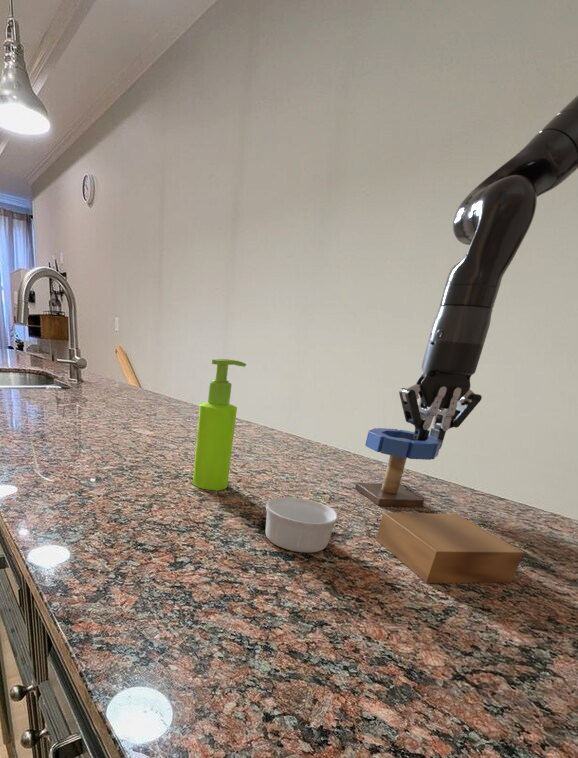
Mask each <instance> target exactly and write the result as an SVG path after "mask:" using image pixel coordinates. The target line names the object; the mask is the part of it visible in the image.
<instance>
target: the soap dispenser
mask: <svg viewBox="0 0 578 758" xmlns="http://www.w3.org/2000/svg"><path fill="white" fill-rule="evenodd" d="M211 364H212V365H215V366H216V372H215V379H213V380H210V381H209V386H208V398H207V401H205V402H200V403H199V407H198V418H197V431H196V442H195V452H194V453H195V454H194V464H193V475H192V485H194V486H195V487H196V488H199V489H203V490H207V491H208V490H209V491H221V490H225V489H227V488H228V484H229V478H230V477H229V476H230V469H231V461H232V452H233V445H234V444H233V443H234V436H235V428H236V420H237V411H238V407H237V406H235V405H234V404H231V403H230V402H231V394H232V386H233V385H232V383H231V382H230V380H228V370H229V366H233V365H234V366H238V367H243V368H245V367H246V366H247V363H245V362H242V361H239V360H235V359H229V358H218V359H217V358H216V359H212V360H211Z"/></svg>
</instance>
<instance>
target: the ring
mask: <svg viewBox="0 0 578 758" xmlns="http://www.w3.org/2000/svg"><path fill="white" fill-rule="evenodd" d="M413 435H414V431H411V430H406V429H397V428H387V427H386V428H383V427H377V428H376V427H374V428H372V429H369V430H368V433H367V436H366V440H365V447H366V448H368V449H370V450H373V451H375V452H376V453H380V454H382V455H386V456H387V455H388V456H390V455H392V456H397V457H401V458H406V457H407V459H409V460H423V461H425V460H427V461H431V460H435V459H436V458H437V457H438V456H439V452H440V450H441V448H440V446H441V443H442V441H441V440H440V439H437V438H434V437H432V436H429V435H430V434H429V435H428V438H427V440H426V441H415V440H412V438H413ZM401 438H405V439H401ZM406 439H409V440H406ZM442 444H443V443H442ZM441 447H442V446H441Z"/></svg>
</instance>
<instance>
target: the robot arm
mask: <svg viewBox="0 0 578 758" xmlns="http://www.w3.org/2000/svg"><path fill="white" fill-rule="evenodd" d="M576 170H578V94H577V95H576V96H575V97H574V98H573V99H572V100H571V101H569V102H568V103H567V104H566V105H565V106H564V107H563V108H562V109H561V110H560V111H559V112H558V113H557V114H556V115H555V116H554V117H553V118H552V119H551V120H550V121H548V123H547V124H545V126H544V127H543V128H541V129H540V130H539V132H537V134H535V136H534V137H532V138H531V140H530V141H529V142H528V143H527V144H526V145H525V146H523V148H522V149H521V150H520V151H519V152H517V153H516V154H515V155H514V156H513V157H511V158H510V159H509V160H507V161H506V162H505V163H504V164H502V165H500V167H498V168H497V169H496V170H495V171H494V172H493V173H491V174H490V175H489V176H488V177H486V178H485V179H484V180H483V181H481V182H480V183H479V184H478V185H477V186H475V188H473V190H471V191H470V192H469V193H468V195H467V196H466V197H465V198H464V199H463V200H462V201H461V203H460V205H458V208H457V210H456V212H455V214H454V217H453V222H452V232H453V234H454V237H455V239H456V240H457V241H458V242H459V243H461V244H463V245H465V246H469V247H468V249H467V252H466V254H465V256H464V257H463V258H462V259H461V260H460V261H459V262H457V263H456V264H454V265H453V266H452V267H451V269H450V271H449V273H448V275H447V277H446V281H445V284H444V287H443V290H442V295H441V299H440V302H439V307H438V309H437V312H436V315H435V317H434V320H433V322H432V326H431V330H430V333H429V337H428V339H427V340H428V341H427V344H426V348H425V351H424V356H423V360H422V362H421V373H420V376H419V377H418V379H417V380H416V382H415V384H413V385H411V386H410V387H402V388H400V389H399V391H398V393H399V398H400V402H401V407H402V412H403V415H404V419H405V422H406V423H409V424H411V425H413V426H414V431H413V432H414V435H413V438H412V440H415V441H426V440H427V438H428V435H429V436H432V437H434V438H437V439H440V440H441V441H442V443H441V446H440V449H441V448H442V446H443V443H444V440H445V436H446V434H447V433H446V432H447V431H449V429H453V428H456V429H457V428H459V427H460V426H461V425H462V424H463V422H464V421H465V420H466V419H467V417H468V416H469V415H470V414H471V413H472V412H473V410H475V408H476V407H477V406H478V404H479V403H480V402H481V401H482V398H483V397H482V395H481V394H478V393H475V392H474V391H473V390H472V389H471V377H472V376H473V375H474V374H475V373H476V372H477V369H478V364H479V362H480V358H481V355H482V352H483V348H484V346H485V342H486V338H487V335H488V332H489V329H490V325H491V320H492V313H493V311H494V310H493V309H494V306H495V303H496V300H497V297H498V294H499V290H500V287H501V284H502V281H503V277H504V275H505V273H506V271H508V268H509V267H510V265H511V264H512V261H513V259H514V258H515V255H516V254H517V252H518V250H519V248H520V247H521V245H522V243H523V241H524V239H525V237H526V236H527V233H528V231H529V229H530V227H531V225H532V223H533V220H534V218H535V214H536V210H537V204H538V197H540V196H542V195H544V194H546V193H548V192H550V191H552V190H553V189H555V188H557V187H558V186H560V185H561V184H562V183H563V182H565V181H566V180H567V179H568V178H569V177H570V176H572V175H573V174H574V172H575V171H576ZM418 399H419V402H418ZM431 425H432V428H431ZM429 429H430V430H429Z"/></svg>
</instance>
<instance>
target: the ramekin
mask: <svg viewBox="0 0 578 758" xmlns="http://www.w3.org/2000/svg"><path fill="white" fill-rule="evenodd" d="M265 509H266V517H265V529H264V530H265V536H266V538H267V540H269V541H270V542H271V543H272V544H273V545H275V546H277V547H279V548H282V549H284V550H287V551H291V552H295V553H304V554H305V553H307V554H310V553H311V554H313V553H318V552H321V551H323V550H325V549H326V548H327V547H328V545H329V542H330V539H331V537H332V533H333V529H334V527H335V524H336V523H337V521H338V519H339V515H338V513H337V512H336V511H335V510H334V509H333V508H332V507H330V506H328V505H326V504H325V503H324V504H323V503H322V502H319V501H315V500H312V499H308V498H303V497H295V496H280V497H273V498H271V499H269V500H268V501H267V502H266V504H265Z"/></svg>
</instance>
